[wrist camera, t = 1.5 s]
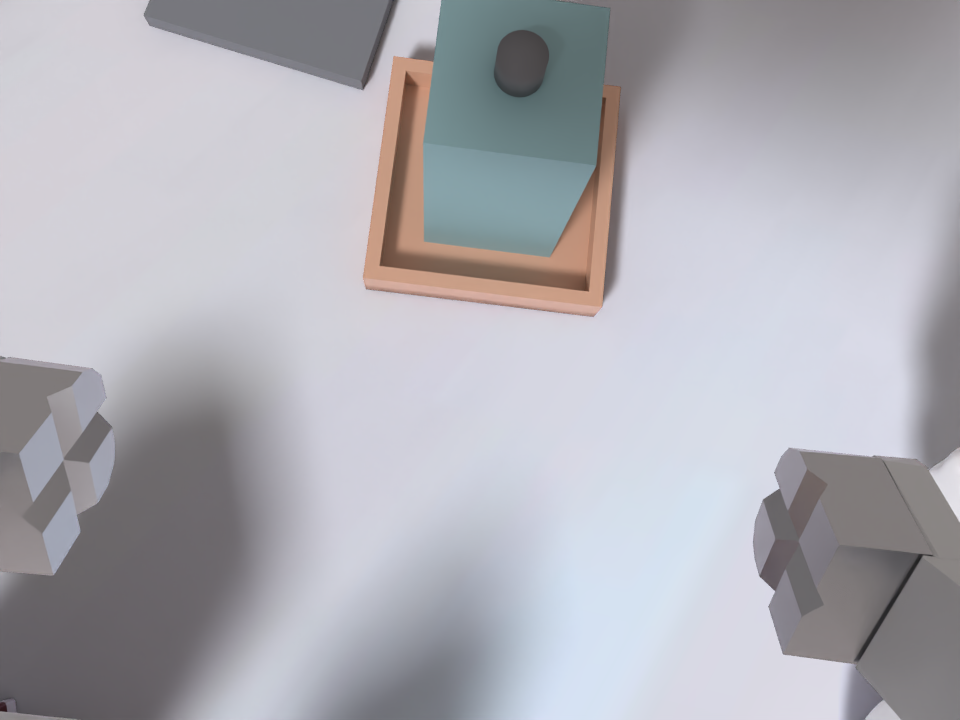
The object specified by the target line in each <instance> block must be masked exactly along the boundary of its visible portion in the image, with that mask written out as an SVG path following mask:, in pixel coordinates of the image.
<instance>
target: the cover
mask: <svg viewBox="0 0 960 720" xmlns="http://www.w3.org/2000/svg"><path fill="white" fill-rule="evenodd" d="M609 18H610V8H606V7H599V6H592V5H584V4H577V3H570V2H563V1H556V0H441V8H440V16H439V24H438V31H437V39H436V47H435V55H434V62H433V70H432V78H431V86H430V93H429V101H428V109H427V117H426V124H425V132H424V140H423V191H424V242H430V243H438V244H446V245H454V246H462V247H470V248H478V249H486V250H494V251H502V252H510V253H518V254H526V255H534V256H542V257H550V256H551V254H552V252H553V250H554V248H555V246H556V244H557V242H558V240H559V238H560V236H561V234H562V232H563V230H564V228H565V226H566V224H567V222H568V220H569V218H570V216H571V214H572V212H573V210H574V208H575V206H576V204H577V203H578V201H579V199H580V197H581V195H582V193H583V191H584V189H585V187H586V185H587V183H588V181H589V179H590V177H591V175H592V173H593V171H594V169H595V167H596V163H597V152H598V141H599V130H600V119H601V107H602V96H603V85H604V74H605V63H606V51H607V40H608V29H609Z"/></svg>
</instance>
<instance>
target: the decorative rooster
mask: <svg viewBox="0 0 960 720" xmlns="http://www.w3.org/2000/svg"><path fill="white" fill-rule="evenodd" d="M929 472H930V474H931V475H932V477H933V479H934V480H935V482H936V484H937V485H938V487H939V489H940V490H941V492H942V494H943V495H944V497H945V499H946V500H947V502H948V504H949V505H950V507H951V509H952V510H953V512H954V514H955V515H956V517H957V519H958V520H959V522H960V447H959V448H957V449H956V450H954V451H953V452H952V453H951V454H950V455H949V456H948V457H947V458H946V459H944V460H942V461H941V462H939V463H938V464H936V465H935V466H934V467H932V468H931V469H930V470H929ZM865 720H901V719H900V718H899V717H898V715H897V714H896V713H895V712H894V711H893V710H892V709H891V708H890V706H889V705H888V704H887V703H886V702H885V701H884V700H883V701H881V702H880V703H879V704H878V705H877V706H876V707H875V708H874V709H873V710H872V711H871V712H870V713H869V714H868V716H867V717H866V719H865Z"/></svg>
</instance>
